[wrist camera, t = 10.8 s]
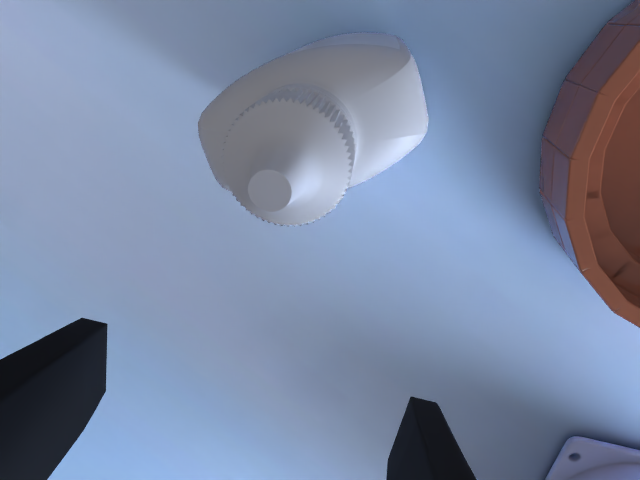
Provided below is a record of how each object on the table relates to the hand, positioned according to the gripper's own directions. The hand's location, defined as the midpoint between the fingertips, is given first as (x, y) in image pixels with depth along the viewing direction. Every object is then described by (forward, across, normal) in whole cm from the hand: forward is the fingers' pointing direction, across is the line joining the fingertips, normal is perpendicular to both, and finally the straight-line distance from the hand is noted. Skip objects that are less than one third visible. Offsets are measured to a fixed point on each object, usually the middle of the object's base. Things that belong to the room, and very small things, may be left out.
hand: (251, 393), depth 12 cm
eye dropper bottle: (+10, 0, -6) cm, 12 cm away
